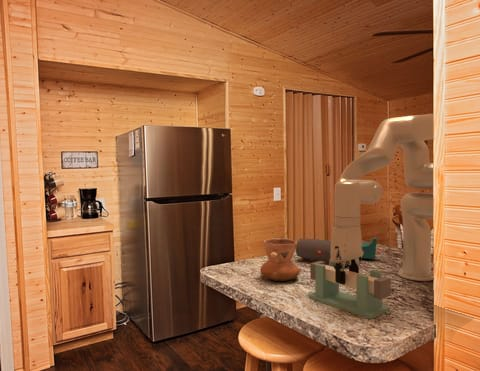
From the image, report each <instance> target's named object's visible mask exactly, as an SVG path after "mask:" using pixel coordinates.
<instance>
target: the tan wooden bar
mask: <svg viewBox="0 0 480 371" xmlns="http://www.w3.org/2000/svg"><path fill="white" fill-rule="evenodd" d="M309 264H310V266H309V267H310V268H309V269H310V278H309V279H310V280H314V281H315V264H321V265H325V280H327V281H331V282H334V283H336V282H335V269H334V267H332V266H329V265H327V264H325V262H323V261H318V262H310V263H309ZM344 271H345V284H344V285H343V284H340V283H338V284H339V285H340V286H341V285H342V286H345V287H348V288H352V289H355V290H357V275H358V274H360V275H364V276H368V293H372V294H374V298H377V299H380V300H381V299H382V300H384V299H385V298H388V297H390V296H391V281H392V280H391V277H388V276H382V277H381V278H375V277H371V276H370V275H367V274H363V273H360V272H359V273H356V272H352V271H349V269H347V270H346V269H344Z"/></svg>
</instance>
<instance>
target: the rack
mask: <svg viewBox="0 0 480 371" xmlns="http://www.w3.org/2000/svg"><path fill="white" fill-rule="evenodd" d="M325 265H326V264H325ZM325 265H321V264H315V280H314V281H315V283H314V284H315V285H314V286H315V288H314V289H315V292H312V293H310V294H309V293H308V298H309V299H311V298H312V299H311V300H314V299H315V300H314V301H317V302H319V303H322V302H323V304H325V303H326V305H328V304H329V305H328V306H331V305H332V307H334V308H336V307H337V309H339V308H340V310H342V309H343V310H342V311H345V310H346V311H345V312H349V313H350V312H351V314H353V315H356V314H357V315H356V316H359V315H360V316H359V317H362V316H363V317H362V318H364V317H366V318H365V319H367V318H369V319H368V320H372V319H374V318H373V317H375V318H376V316H377V317H378V315H379V316H381V315H383V314H385V313H387V312H389V311H390V310H391V308H390V306H387V305H385V304H382V300H383V299H381V300H380V299H377V298H374V294H372V293H368V276H371V277H375V278H381V277H383V272H382V271H379V270H375V269H370V270H369V275H367V276H364V275H365V274H364V275H360V274H361V273H360V274H358V275H357V289H356V291H355V292H356V293H355V294H356V295H353V294H349V293H347V292H343V291H340V284H338V283H334V282H331V281H327V280H325ZM328 266H332V267H333V265H332V264H331V262H330V261H329V265H328ZM380 314H381V315H380ZM371 318H372V319H371Z"/></svg>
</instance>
